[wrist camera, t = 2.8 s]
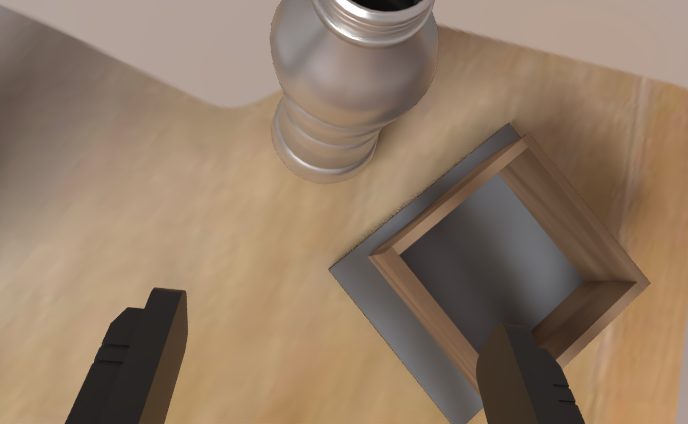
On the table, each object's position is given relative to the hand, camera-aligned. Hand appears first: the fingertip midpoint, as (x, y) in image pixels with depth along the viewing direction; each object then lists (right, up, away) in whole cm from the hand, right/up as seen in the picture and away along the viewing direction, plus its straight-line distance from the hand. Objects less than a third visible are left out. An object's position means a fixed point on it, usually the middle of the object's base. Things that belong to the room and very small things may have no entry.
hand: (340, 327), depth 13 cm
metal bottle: (-1, +8, +21) cm, 22 cm away
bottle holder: (+9, -1, +21) cm, 23 cm away
